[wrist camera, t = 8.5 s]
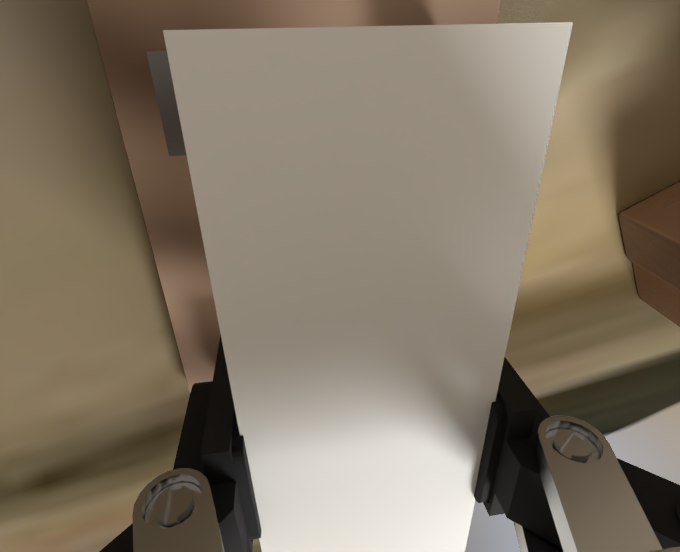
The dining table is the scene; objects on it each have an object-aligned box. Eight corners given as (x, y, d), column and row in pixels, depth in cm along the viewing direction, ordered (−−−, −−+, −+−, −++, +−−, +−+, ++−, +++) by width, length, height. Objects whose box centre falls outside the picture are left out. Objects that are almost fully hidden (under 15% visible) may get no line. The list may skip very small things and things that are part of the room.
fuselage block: (207, 37, 8) (163, 30, 5) (453, 32, 9) (573, 22, 5) (280, 529, 16) (283, 664, 12) (410, 508, 16) (448, 632, 13)
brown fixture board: (102, 2, 15) (50, -10, 11) (483, -4, 16) (540, -16, 13) (198, 388, 24) (185, 447, 20) (441, 359, 25) (469, 410, 22)
